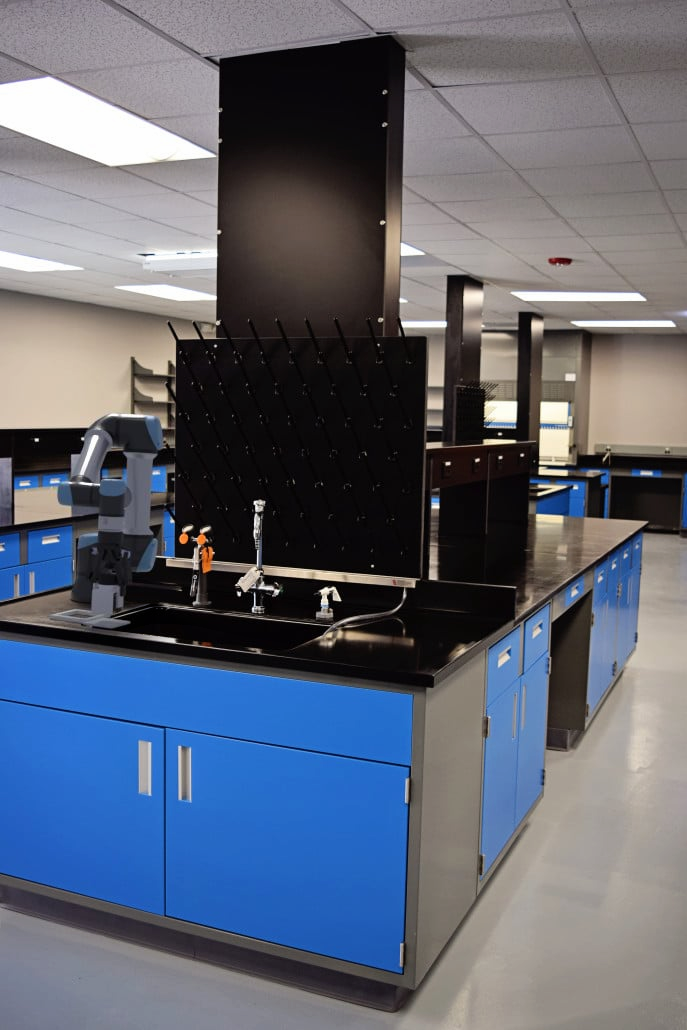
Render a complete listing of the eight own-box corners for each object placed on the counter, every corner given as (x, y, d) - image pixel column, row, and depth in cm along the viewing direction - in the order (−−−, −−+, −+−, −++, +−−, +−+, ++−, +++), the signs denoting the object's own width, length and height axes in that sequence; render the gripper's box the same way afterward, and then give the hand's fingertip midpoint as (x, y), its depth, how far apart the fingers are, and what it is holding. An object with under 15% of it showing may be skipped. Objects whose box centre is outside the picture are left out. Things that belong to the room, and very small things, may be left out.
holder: (75, 612, 300) (75, 609, 300) (110, 617, 296) (110, 613, 296) (49, 618, 288) (49, 614, 288) (86, 623, 284) (86, 619, 283)
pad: (102, 619, 292) (102, 617, 292) (130, 623, 288) (130, 621, 288) (83, 624, 282) (83, 622, 282) (111, 628, 279) (111, 626, 279)
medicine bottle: (113, 615, 281) (114, 575, 280) (90, 613, 282) (92, 573, 281) (123, 611, 288) (125, 572, 287) (101, 609, 289) (103, 571, 288)
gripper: (74, 528, 283) (71, 603, 285) (133, 533, 276) (130, 610, 278) (89, 526, 290) (86, 600, 292) (147, 532, 284) (143, 607, 285)
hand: (107, 605), depth 285 cm, fingers closed on medicine bottle, 7 cm apart
